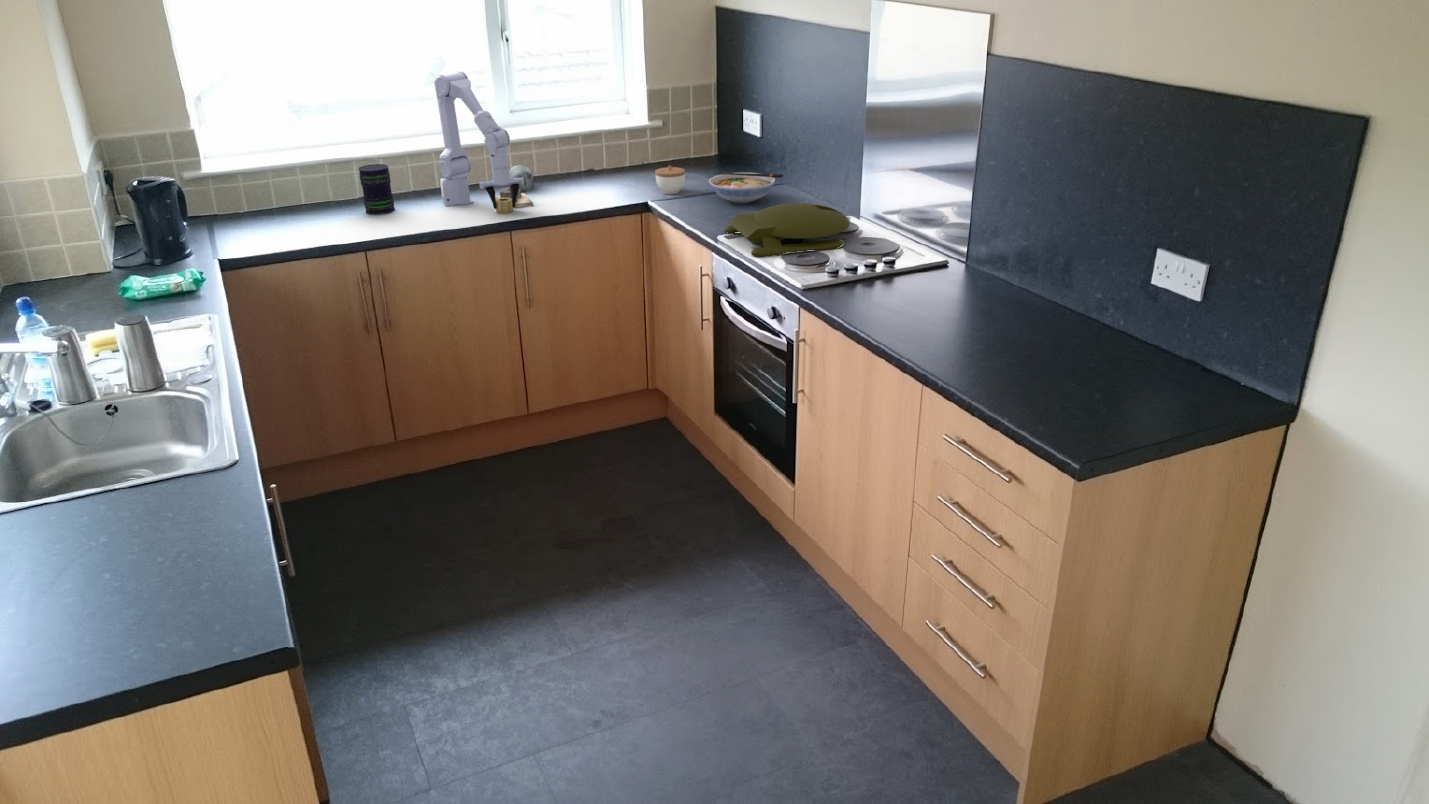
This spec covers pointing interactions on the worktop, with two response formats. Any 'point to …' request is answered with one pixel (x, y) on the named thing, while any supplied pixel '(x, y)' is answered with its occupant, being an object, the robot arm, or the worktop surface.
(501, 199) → the brass gear
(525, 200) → the gear board
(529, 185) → the spool
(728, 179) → the ramen bowl
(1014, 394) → the worktop surface
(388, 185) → the black green cylinder
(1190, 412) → the worktop surface
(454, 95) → the robot arm
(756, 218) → the green sea turtle
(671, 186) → the lidded jar
